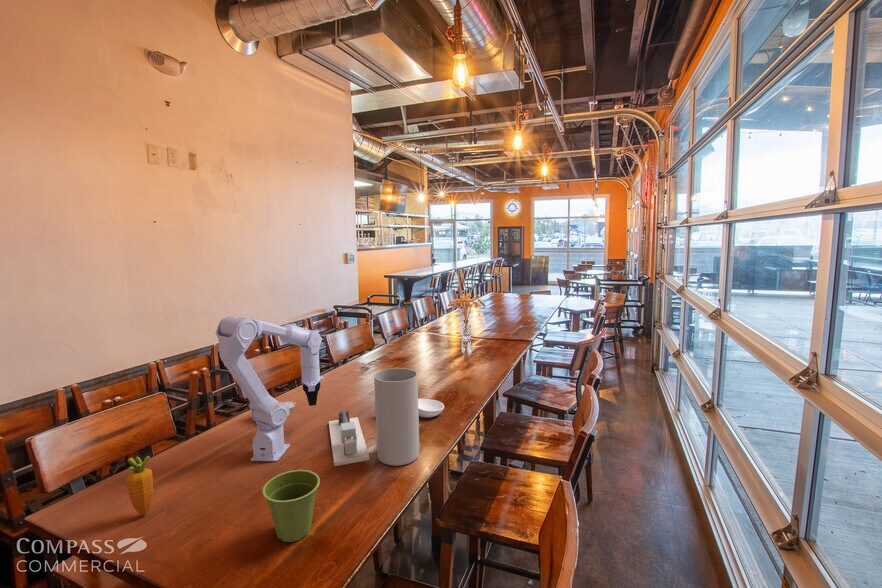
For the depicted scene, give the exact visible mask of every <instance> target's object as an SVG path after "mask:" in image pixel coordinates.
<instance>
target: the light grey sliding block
mask: <svg viewBox="0 0 882 588" xmlns="http://www.w3.org/2000/svg"><path fill="white" fill-rule="evenodd" d="M340 432H341V441H342V444H344V440H345V438H347V437H352V438H355V439H356V442H357V435H356V428H355V424H354V422H348V423H342V424H341V430H340Z"/></svg>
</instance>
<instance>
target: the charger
mask: <svg viewBox="0 0 882 588" xmlns="http://www.w3.org/2000/svg"><path fill="white" fill-rule="evenodd" d="M277 401H278V400H277ZM278 403H279V404H280V405H282V406H284V407H285V408H286V409H287V413H288V414H287V417H289V416H290V410H291V409H293V408H295V406H296V405H295V404H297V402H294V401H285V402H281V401H278ZM251 418H252V417H251ZM252 420H253V421H254V422H256V420H254V419H253V418H252Z"/></svg>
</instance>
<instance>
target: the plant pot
mask: <svg viewBox="0 0 882 588" xmlns="http://www.w3.org/2000/svg"><path fill="white" fill-rule="evenodd" d="M320 483H321V478H320V477H319V475H318V473H315V472H313V471H312V470H305V469H295V470H289V471H284V472H282V473H279V474H277V475H275V476H273V477H272V478H271V479H269V480H268V481H267V482H266V483H265V484H264V485H263V487H262V496H263V497H264V498H265V499H266V501H267V505H268V507H269V509H270V513H271V518H272V521H273V525H274V529H275V533H276V538H278V540H280V541H282V542H284V543H292V542H293V543H294V542H297V541H300V540H302V539H303V538H304V537H305V536H307V535H309V534H310V531H311V529H312V524H313V523H312V522H313V515H314V507H315V499H316V495H317V492H318V488H319V487H320Z"/></svg>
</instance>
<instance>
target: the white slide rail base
mask: <svg viewBox="0 0 882 588" xmlns="http://www.w3.org/2000/svg"><path fill="white" fill-rule="evenodd" d="M349 413H350V412H349V410H341V411H340V412H339V411H338V419H334V420H329V421H328V427H329V428H328V429H329V435H330V436H329V437H330V442H331V443H330V444H331V451H332V459H333V467H338V466H343V465H348V464H354V463H360V462H367V461H370V455H369V450H368V447H367V445H366V441H365V437H364V434H363V431H362V428H361V425H360V421H359V417H358V416H357V417H350V414H349ZM348 422H354V424H355V428H356V435H357V442H356V439H355V438H352V437H347V438H345V440H344V444H342V441H341V432H340V430H341V424H342V423H348Z"/></svg>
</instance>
